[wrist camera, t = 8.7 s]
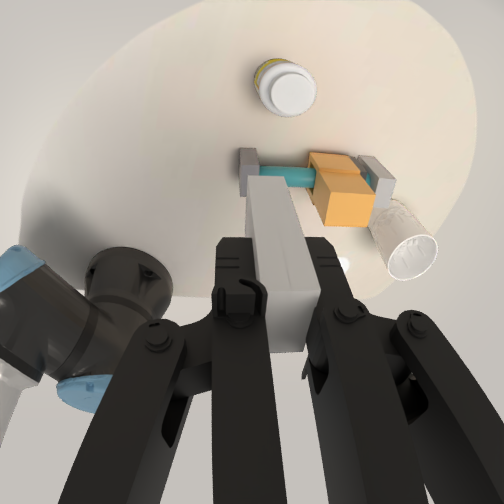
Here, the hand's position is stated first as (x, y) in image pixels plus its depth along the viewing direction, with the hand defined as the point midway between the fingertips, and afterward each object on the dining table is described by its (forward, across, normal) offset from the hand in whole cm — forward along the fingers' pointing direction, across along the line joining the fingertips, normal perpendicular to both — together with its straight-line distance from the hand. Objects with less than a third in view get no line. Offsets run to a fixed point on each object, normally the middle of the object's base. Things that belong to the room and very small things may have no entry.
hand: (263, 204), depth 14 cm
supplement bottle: (+27, -4, -2) cm, 27 cm away
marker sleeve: (+25, -11, +9) cm, 29 cm away
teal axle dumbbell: (+26, -9, +9) cm, 29 cm away
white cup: (+27, -23, +17) cm, 39 cm away
